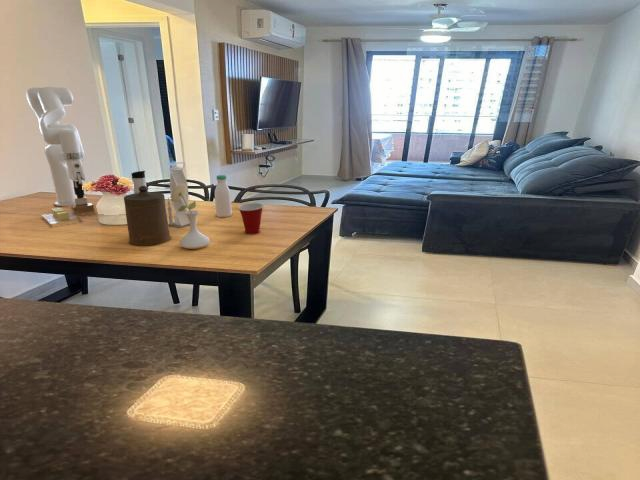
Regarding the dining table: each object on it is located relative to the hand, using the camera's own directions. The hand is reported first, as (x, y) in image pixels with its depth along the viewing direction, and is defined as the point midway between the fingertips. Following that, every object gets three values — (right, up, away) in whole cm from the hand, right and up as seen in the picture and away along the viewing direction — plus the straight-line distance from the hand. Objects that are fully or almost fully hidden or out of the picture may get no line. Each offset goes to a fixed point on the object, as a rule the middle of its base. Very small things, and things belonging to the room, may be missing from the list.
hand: (79, 194), depth 184 cm
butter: (-7, -10, -4) cm, 13 cm away
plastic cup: (+87, -19, -18) cm, 90 cm away
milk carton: (+53, -15, -9) cm, 56 cm away
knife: (0, -9, +3) cm, 10 cm away
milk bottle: (+68, -10, +7) cm, 69 cm away
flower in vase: (+67, -25, -36) cm, 80 cm away
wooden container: (+47, -22, -30) cm, 60 cm away
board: (-5, -12, -5) cm, 15 cm away
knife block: (0, -10, +3) cm, 10 cm away
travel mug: (+23, -6, +16) cm, 29 cm away
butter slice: (-2, -12, -9) cm, 15 cm away
